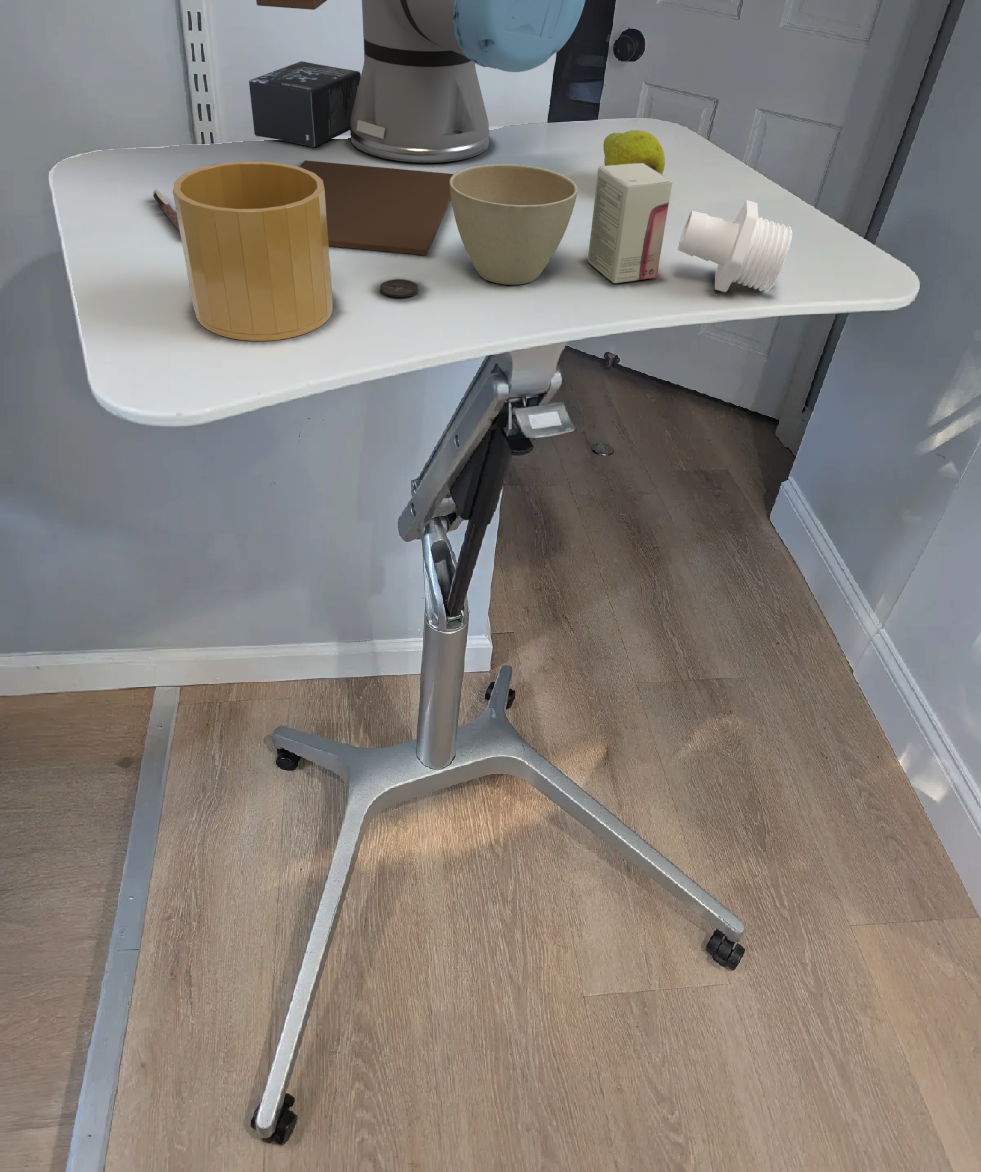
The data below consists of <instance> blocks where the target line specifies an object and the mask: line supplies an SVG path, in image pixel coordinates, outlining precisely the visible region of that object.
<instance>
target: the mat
mask: <svg viewBox="0 0 981 1172" xmlns="http://www.w3.org/2000/svg"><path fill="white" fill-rule="evenodd" d="M298 167H300V168H303V169H306V170H308V171H311V172H313V173H315V174H316V175H317V176H319V177H320V178H321V179H322V180H323V183H324V188H325V202H326V216H327V231H328V245H329V247H334V248H335V247H337V248H346V249H347V248H348V249H357V250H368V251H379V252H386V253H387V252H388V253H389V252H390V253H397V254H398V253H399V254H408V255H409V254H410V255H419V256H427V255H428V252H429V250H430V248H431V245H432V243H433V242H434V241H433V240H434V238H435V236H436V235H437V232H438V229H439V227H440V225H441V222H442V220H443V218H444V215H445V213H446V211H447V209H448V206H449V204H450V202H451V193H450V178H451V177H452V176H453V175H454V174H455V173H447V172H435V171H425V170H416V169H415V170H414V169H403V168H394V167H391V168H390V167H383V166H382V167H381V166H372V165H360V164H349V163H339V162H328V161H316V160H304V161H303V162H302V163H301V164H300V165H299V166H298Z"/></svg>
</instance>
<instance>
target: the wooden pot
mask: <svg viewBox="0 0 981 1172" xmlns="http://www.w3.org/2000/svg"><path fill="white" fill-rule="evenodd" d="M172 195H173V200H174V206H175V213H176V214H177V218H178V224H179V229H180V231H179V235H180V239H181V246H182V251H183V256H184V262H185V267H186V272H187V279H188V284H189V285H188V286H189V290H190V295H191V296H190V297H191V300H192V307H193V311H194V313H195V317H196V320H197V321H198V323H199V324H200V325H201V326H202V327H203V328H204V329H206V330H207V331H209V332H212V333H213V334H216V335H218V336H221V337H225V338H228V339H233V340H239V341H251V342H267V341H278V340H286V339H291V338H294V337H299V336H302V335H306V334H308V333H310V332H313V331H315V330H317V329H318V328H320V327H322V326H323V325H324V324H325V323H326V322H328V321H329V319H330V318H331V316H332V314H333V309H334V308H333V304H334V303H333V288H332V274H331V273H332V272H331V263H330V262H331V261H330V246H329V245H328V231H327V216H326V202H325V188H324V183H323V180H322V179H321V178H320V177H319V176H317V175H316V174H315V173H313V172H311V171H308V170H306V169H303V168H300V167H299V166H297V165H291V164H286V163H281V162H272V161H271V162H270V161H258V160H257V161H256V160H255V161H254V160H253V161H231V162H222V163H214V164H210V165H206V166H201V167H198V168H195V169H192V170H190V171H188V172H185V173H183V174H182V175H181V176H179V177H178V178H177V179H176V180H175V181H174V182H173V186H172Z"/></svg>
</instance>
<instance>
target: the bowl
mask: <svg viewBox="0 0 981 1172" xmlns="http://www.w3.org/2000/svg"><path fill="white" fill-rule="evenodd" d="M453 174H454V175H453V176H452V177H451V178H450V193H451V200H450V202H451V207H452V211H453V215H454V220H455V225H456V228H457V230H458V233H459V237H460V240H461V242H462V245H463V246H464V249H465V251H466V253H467V255H468V258H469V259H470V262H471V264H472V265H473V267H474V269H475V270H476V272H477V273H478V275H479V276H480V277H481V278H482V279H484V280H486V281H489V282H491V283H495V284H499V285H506V286H507V285H509V286H511V285H512V286H514V285H515V286H516V285H524V284H529V283H531V282H533V281H535V280H537V278H538V277H539V276H540V275H541V273H542V272H543V271H544V269H545V268H546V267H547V265H548V264H549V262H550V261H551V259H552V258H553V257H554V254H555V253H556V251H557V250H558V247H559V245H560V243H561V241H562V240H563V238H564V235H565V233H566V231H567V228H568V226H569V223H570V220H571V217H572V214H573V212H574V208H575V205H576V200H577V196H578V192H579V189H578V185H577V184H576V182H575V181H574V180H572V179H571V178H569V177H568V176H566V175H563V174H561V173H558V172H556V171H553V170H550V169H546V168H542V167H538V166H533V165H524V164H516V163H515V164H514V163H487V164H480V165H474V166H470V167H467V168H463V169H461V170H458V171H457V172H455V173H453Z"/></svg>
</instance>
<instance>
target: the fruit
mask: <svg viewBox="0 0 981 1172" xmlns="http://www.w3.org/2000/svg"><path fill="white" fill-rule="evenodd" d="M603 155H604V159H603V160H604V163H603V165H604V166H611V165H622V164H633V163H644V164H645V165H647V166H649V167H650V168H652V169H654V170H655V171H657V172H658V173H660V174H662V175H663V173H664V170H665V166H666V157H665V151H664V149H663V146H662V144H661V143H660V141H659V140H658V138H656V137H655V136H654V135H653V134H652V133H650V132H649V131H646V130H642V129H641V130H640V129H633V130H629V131H625V132H612V133H610V134H608V135H606V137H605V138H604V140H603Z"/></svg>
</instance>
